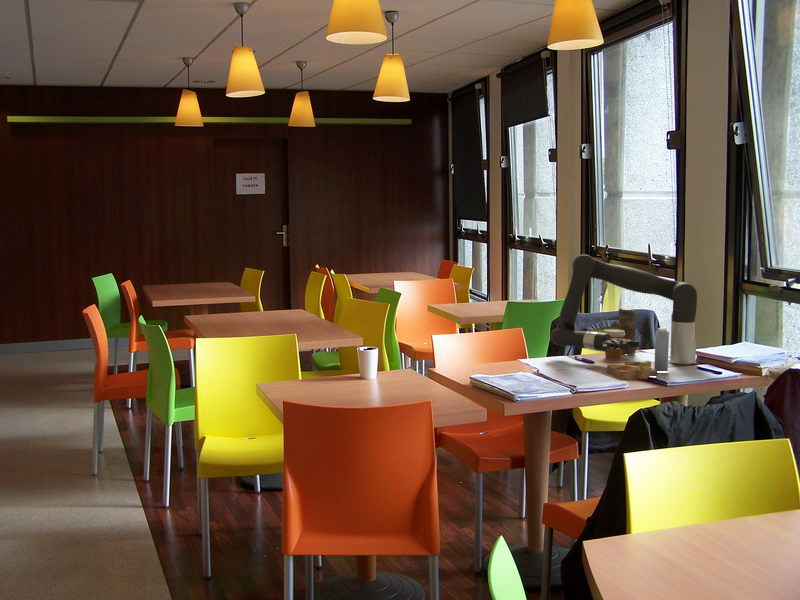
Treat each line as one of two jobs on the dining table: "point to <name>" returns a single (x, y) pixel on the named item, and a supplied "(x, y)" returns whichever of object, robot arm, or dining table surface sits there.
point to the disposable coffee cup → (614, 334)
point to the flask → (661, 349)
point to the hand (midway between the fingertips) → (634, 345)
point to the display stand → (632, 370)
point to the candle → (628, 327)
